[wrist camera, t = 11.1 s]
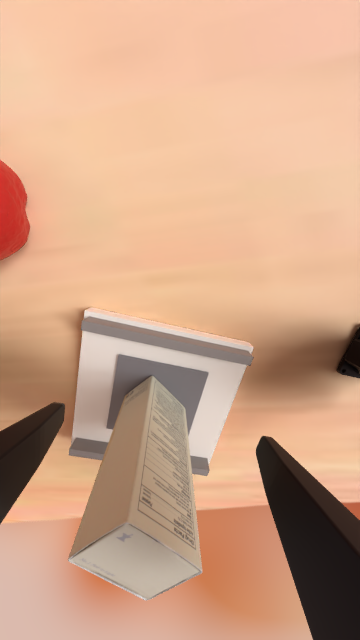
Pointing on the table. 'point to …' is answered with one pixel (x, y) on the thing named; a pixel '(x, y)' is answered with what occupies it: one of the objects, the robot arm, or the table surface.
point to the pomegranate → (12, 212)
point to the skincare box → (143, 499)
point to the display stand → (166, 366)
